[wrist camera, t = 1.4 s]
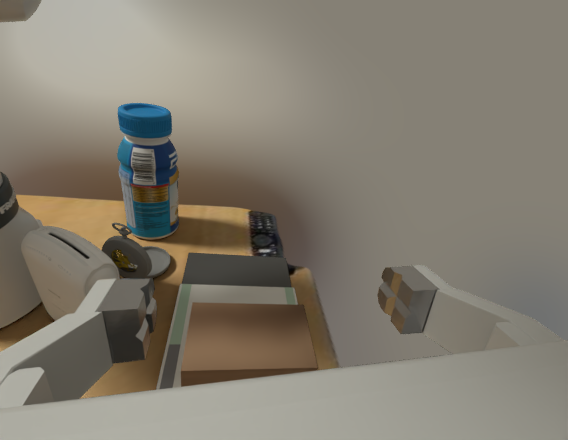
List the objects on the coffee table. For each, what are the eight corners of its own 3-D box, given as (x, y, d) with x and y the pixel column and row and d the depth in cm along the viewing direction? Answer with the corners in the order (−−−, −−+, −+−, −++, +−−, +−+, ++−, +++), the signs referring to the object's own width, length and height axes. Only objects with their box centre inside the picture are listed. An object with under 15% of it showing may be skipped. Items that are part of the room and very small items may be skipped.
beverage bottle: (115, 227, 49) (94, 103, 38) (156, 208, 55) (149, 98, 44) (150, 248, 46) (139, 122, 35) (190, 226, 52) (190, 114, 42)
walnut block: (292, 425, 27) (317, 367, 22) (182, 432, 25) (180, 370, 20) (284, 364, 32) (303, 304, 27) (191, 366, 30) (192, 302, 25)
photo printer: (40, 313, 34) (4, 228, 27) (77, 291, 37) (53, 210, 30) (101, 359, 31) (77, 276, 24) (135, 330, 34) (122, 250, 27)
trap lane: (342, 559, 22) (348, 555, 21) (112, 598, 19) (108, 595, 18) (285, 258, 50) (287, 252, 49) (188, 253, 46) (188, 246, 46)
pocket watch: (169, 249, 47) (167, 195, 41) (172, 288, 40) (169, 230, 35) (111, 254, 43) (100, 196, 38) (104, 297, 37) (89, 235, 32)
